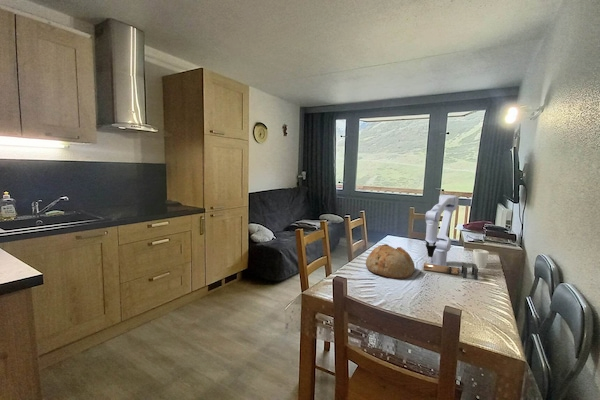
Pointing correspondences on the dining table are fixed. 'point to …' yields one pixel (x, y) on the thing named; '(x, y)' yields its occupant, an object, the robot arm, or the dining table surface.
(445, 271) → the copper tube
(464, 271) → the dark gray arch
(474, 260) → the white cup
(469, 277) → the pale gray board
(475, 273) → the collar
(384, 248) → the bread
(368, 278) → the dining table surface
